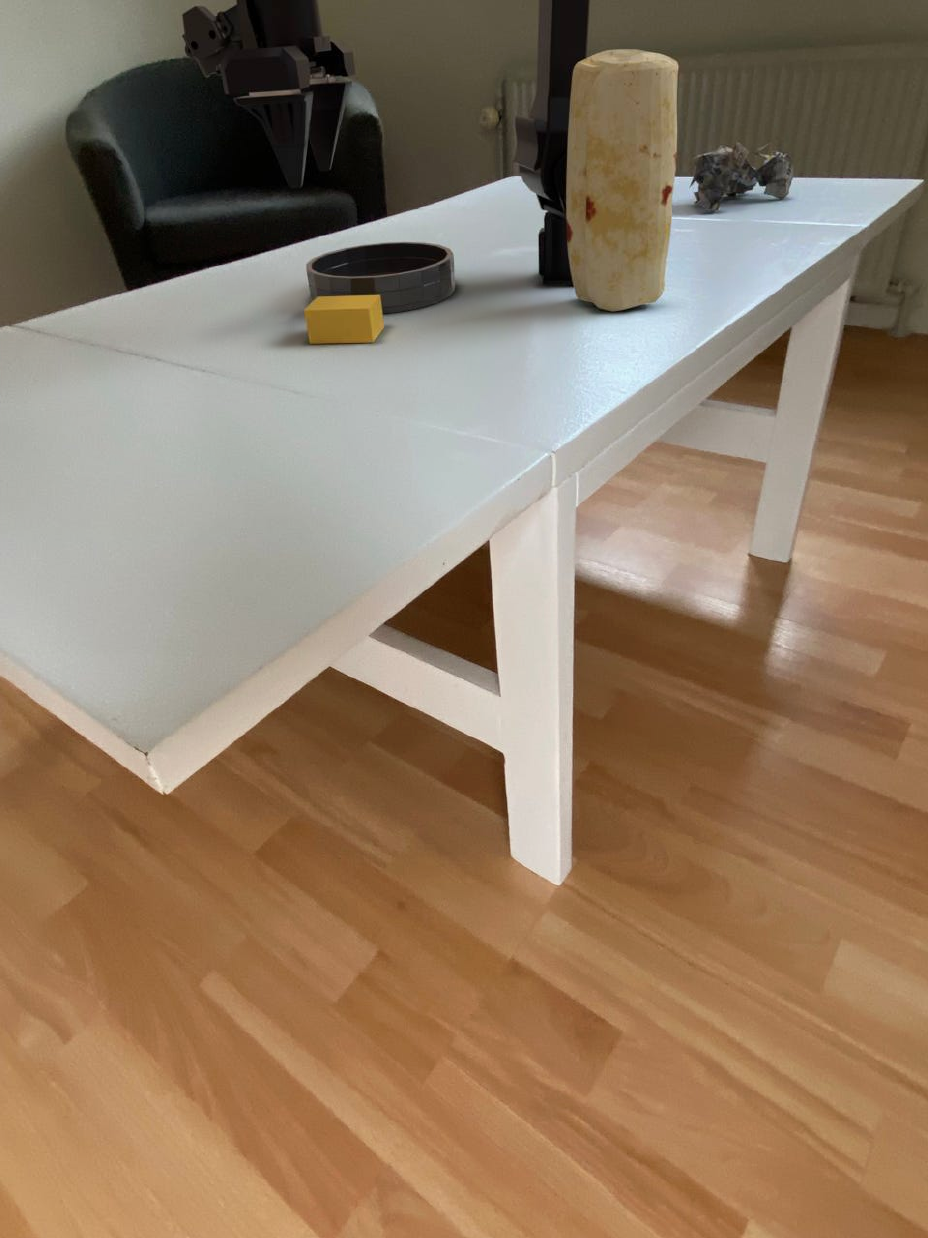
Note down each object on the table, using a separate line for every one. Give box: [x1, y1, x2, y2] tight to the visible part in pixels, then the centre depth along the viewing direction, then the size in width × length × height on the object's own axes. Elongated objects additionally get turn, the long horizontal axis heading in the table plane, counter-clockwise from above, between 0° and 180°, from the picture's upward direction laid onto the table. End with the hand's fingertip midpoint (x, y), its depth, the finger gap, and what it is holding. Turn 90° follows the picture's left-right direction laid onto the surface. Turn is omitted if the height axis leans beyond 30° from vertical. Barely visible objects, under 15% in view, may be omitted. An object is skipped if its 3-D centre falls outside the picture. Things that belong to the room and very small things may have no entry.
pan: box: [305, 241, 456, 315], centre depth 85 cm, size 15×15×4 cm
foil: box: [689, 141, 795, 215], centre depth 111 cm, size 12×11×15 cm
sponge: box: [303, 295, 385, 345], centre depth 74 cm, size 6×4×3 cm
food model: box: [566, 48, 680, 313], centre depth 72 cm, size 10×7×20 cm
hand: (311, 178), depth 75 cm, fingers open, 9 cm apart
